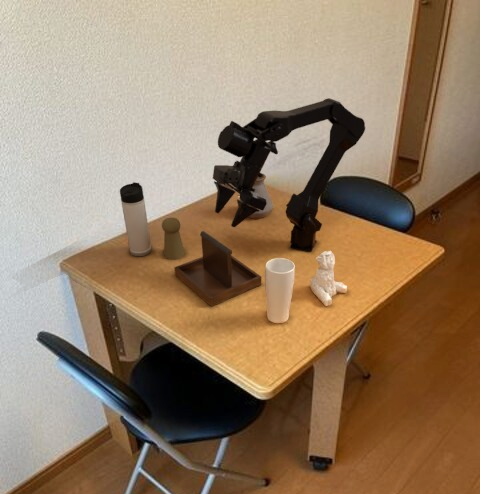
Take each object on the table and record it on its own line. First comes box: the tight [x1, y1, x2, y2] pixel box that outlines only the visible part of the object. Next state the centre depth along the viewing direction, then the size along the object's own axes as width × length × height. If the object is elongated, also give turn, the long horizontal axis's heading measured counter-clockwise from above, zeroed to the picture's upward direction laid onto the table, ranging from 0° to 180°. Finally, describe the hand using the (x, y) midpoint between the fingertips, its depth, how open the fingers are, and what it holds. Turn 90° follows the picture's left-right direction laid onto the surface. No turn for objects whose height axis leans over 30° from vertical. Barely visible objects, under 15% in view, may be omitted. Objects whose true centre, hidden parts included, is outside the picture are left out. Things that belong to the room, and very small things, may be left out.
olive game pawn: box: [161, 217, 185, 260], centre depth 142 cm, size 6×6×11 cm
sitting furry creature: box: [309, 250, 348, 307], centre depth 125 cm, size 10×9×12 cm
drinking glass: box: [264, 257, 296, 324], centre depth 116 cm, size 7×7×15 cm
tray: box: [173, 230, 262, 307], centre depth 130 cm, size 16×18×12 cm
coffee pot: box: [239, 173, 274, 220], centre depth 157 cm, size 21×12×15 cm, turn 144°
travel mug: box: [119, 181, 152, 257], centre depth 141 cm, size 6×7×20 cm
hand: (224, 219), depth 129 cm, fingers open, 9 cm apart
